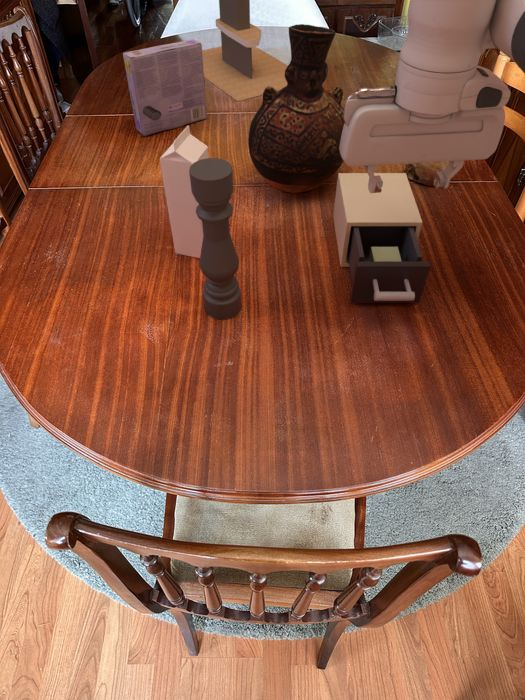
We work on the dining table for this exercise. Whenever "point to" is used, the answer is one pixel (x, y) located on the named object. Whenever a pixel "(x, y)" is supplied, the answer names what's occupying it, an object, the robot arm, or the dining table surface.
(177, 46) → the cake pan box
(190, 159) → the milk
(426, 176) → the brown mottled round lump
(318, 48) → the ceramic vessel
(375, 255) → the block
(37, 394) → the dining table surface
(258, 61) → the architectural model
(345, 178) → the drawer cabinet
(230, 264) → the candle holder
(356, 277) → the dark grey drawer
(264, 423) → the dining table surface
